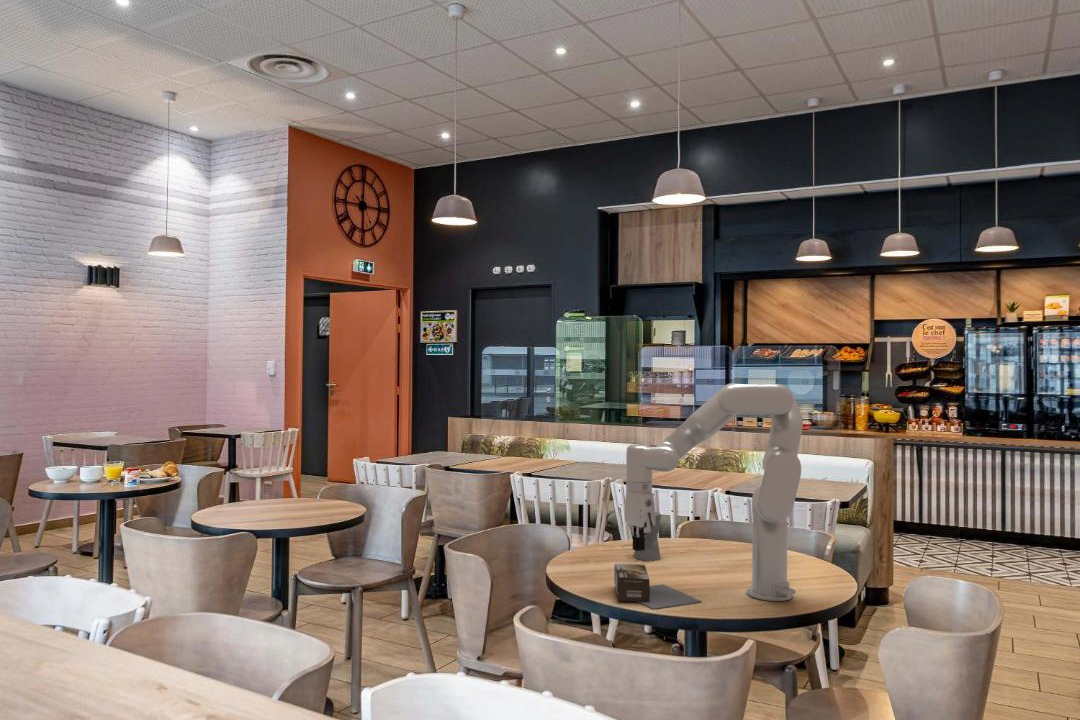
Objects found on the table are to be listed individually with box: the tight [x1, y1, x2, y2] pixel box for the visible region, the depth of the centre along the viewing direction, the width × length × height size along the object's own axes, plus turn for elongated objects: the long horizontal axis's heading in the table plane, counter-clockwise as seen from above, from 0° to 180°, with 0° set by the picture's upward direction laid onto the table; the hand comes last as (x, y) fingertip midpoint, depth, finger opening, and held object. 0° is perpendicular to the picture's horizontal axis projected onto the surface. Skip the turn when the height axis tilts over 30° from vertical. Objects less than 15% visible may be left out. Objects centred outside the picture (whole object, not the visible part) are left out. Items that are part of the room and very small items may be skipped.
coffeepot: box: [633, 511, 662, 562], centre depth 262 cm, size 15×9×18 cm, turn 156°
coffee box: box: [613, 563, 651, 602], centre depth 219 cm, size 9×6×16 cm
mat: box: [635, 583, 703, 610], centre depth 217 cm, size 18×16×1 cm
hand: (638, 549), depth 227 cm, fingers closed
